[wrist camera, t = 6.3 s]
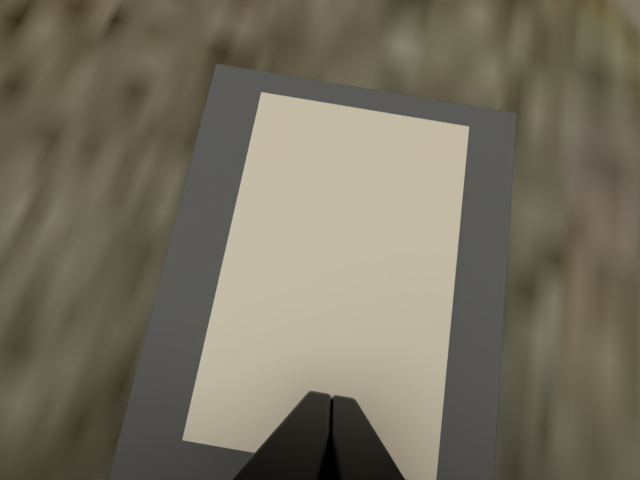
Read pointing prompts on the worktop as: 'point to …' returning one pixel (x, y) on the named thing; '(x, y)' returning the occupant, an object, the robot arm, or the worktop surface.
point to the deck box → (336, 278)
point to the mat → (207, 257)
